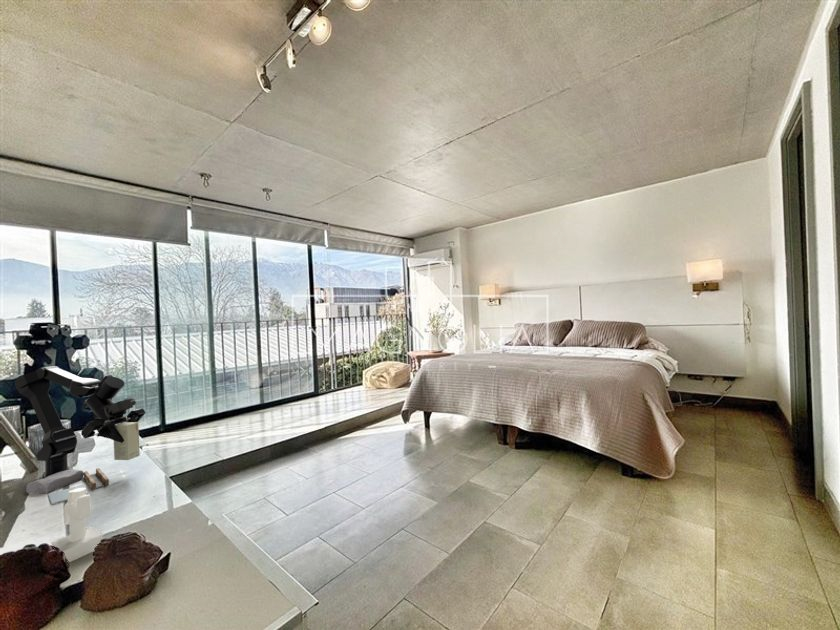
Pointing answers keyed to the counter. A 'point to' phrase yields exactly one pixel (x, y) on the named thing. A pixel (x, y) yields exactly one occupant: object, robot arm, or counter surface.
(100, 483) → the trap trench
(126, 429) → the skincare box
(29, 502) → the counter surface
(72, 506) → the figurine
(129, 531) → the counter surface
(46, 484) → the stone block
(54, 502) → the pad
